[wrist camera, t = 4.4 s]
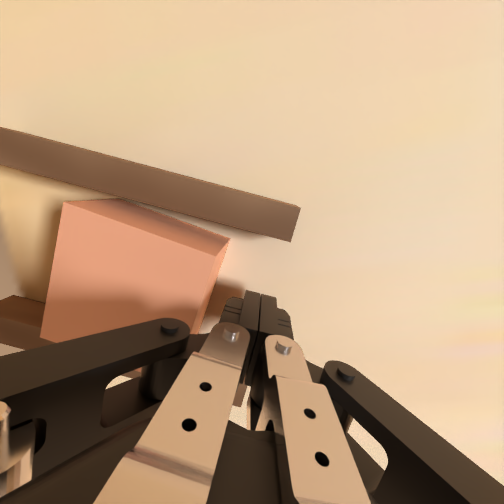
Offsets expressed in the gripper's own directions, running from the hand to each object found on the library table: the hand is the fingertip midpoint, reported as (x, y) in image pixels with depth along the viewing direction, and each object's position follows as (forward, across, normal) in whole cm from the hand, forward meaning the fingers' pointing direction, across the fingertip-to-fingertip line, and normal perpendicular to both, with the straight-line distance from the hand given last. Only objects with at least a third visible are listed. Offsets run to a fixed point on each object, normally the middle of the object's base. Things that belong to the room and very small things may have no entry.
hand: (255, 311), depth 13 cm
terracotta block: (+2, +5, 0) cm, 6 cm away
